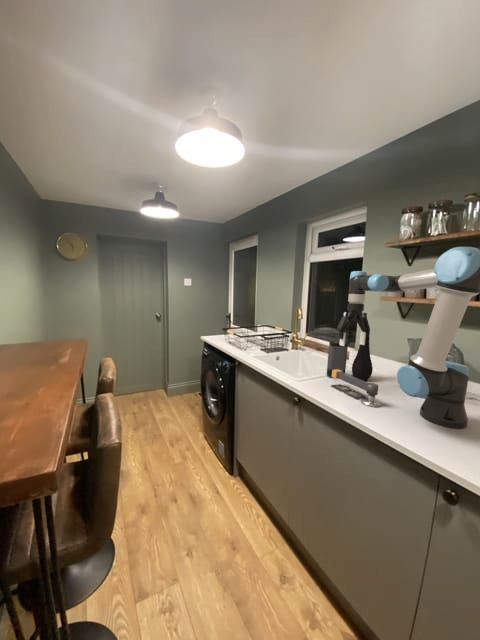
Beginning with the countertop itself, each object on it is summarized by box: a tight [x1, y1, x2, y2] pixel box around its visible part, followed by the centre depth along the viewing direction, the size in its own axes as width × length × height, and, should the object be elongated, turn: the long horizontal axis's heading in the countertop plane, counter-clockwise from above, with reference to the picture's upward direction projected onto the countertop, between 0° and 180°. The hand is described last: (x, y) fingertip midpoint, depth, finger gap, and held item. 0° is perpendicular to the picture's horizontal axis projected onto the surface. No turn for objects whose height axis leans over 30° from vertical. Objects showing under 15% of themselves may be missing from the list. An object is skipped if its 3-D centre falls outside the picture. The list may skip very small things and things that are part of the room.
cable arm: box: [332, 369, 379, 396], centre depth 128 cm, size 25×4×4 cm, turn 23°
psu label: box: [330, 383, 353, 393], centre depth 136 cm, size 8×6×1 cm
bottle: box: [351, 325, 374, 382], centre depth 152 cm, size 11×11×30 cm
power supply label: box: [343, 390, 368, 400], centre depth 128 cm, size 8×6×1 cm
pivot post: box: [360, 394, 382, 408], centre depth 119 cm, size 8×8×4 cm
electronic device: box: [326, 340, 349, 379], centre depth 154 cm, size 9×6×20 cm, turn 84°
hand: (352, 345), depth 138 cm, fingers open, 13 cm apart
